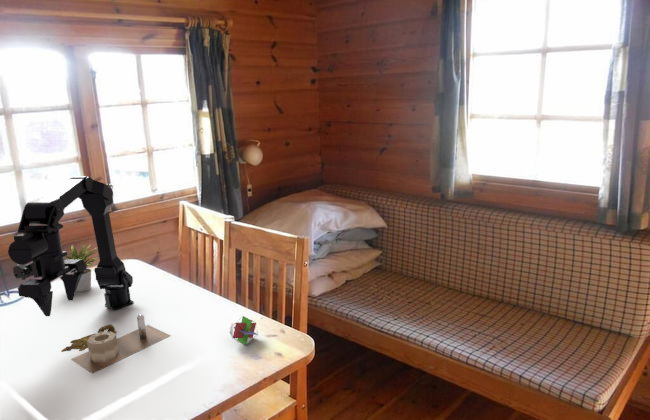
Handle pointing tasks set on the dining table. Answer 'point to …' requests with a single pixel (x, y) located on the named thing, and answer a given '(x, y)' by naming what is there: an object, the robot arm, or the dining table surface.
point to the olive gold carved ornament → (82, 342)
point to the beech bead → (102, 346)
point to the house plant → (86, 277)
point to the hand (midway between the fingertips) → (59, 307)
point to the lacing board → (123, 348)
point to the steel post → (141, 326)
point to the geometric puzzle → (243, 330)
